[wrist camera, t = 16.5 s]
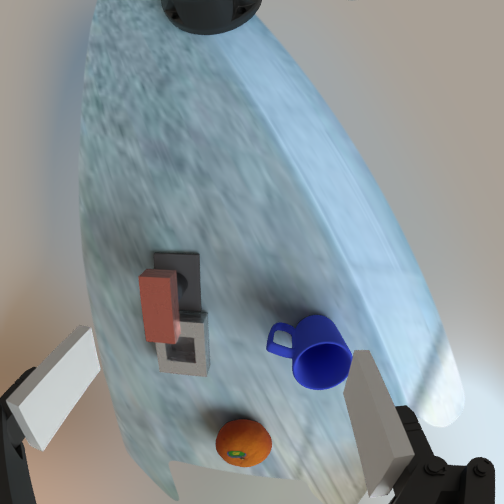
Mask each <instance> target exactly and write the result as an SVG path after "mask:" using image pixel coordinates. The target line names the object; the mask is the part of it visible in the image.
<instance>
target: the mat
mask: <svg viewBox="0 0 504 504" xmlns="http://www.w3.org/2000/svg"><path fill="white" fill-rule="evenodd" d="M154 269H161V270H176V273H180V274H182V275H183V276H185V278H186V279H187V281H188V287H187V290H186V291H185V293H184V295H183V296H182V298H181V299H180V301H179V303H178V305H179V310H186V311H201V288H200V258H199V254H181V253H154Z"/></svg>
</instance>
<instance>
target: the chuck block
mask: <svg viewBox="0 0 504 504" xmlns="http://www.w3.org/2000/svg"><path fill="white" fill-rule="evenodd" d="M179 318H180V330H181V334H180V336H179V338H178V340H177V342H176V344H167V343H157V342H155V343H156V350H157V357H158V363H159V370H160V372H165V373H173V374H182V375H192V376H202V377H207V375H208V371H209V368H210V349H209V329H208V313H199V312H184V311H179Z"/></svg>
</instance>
